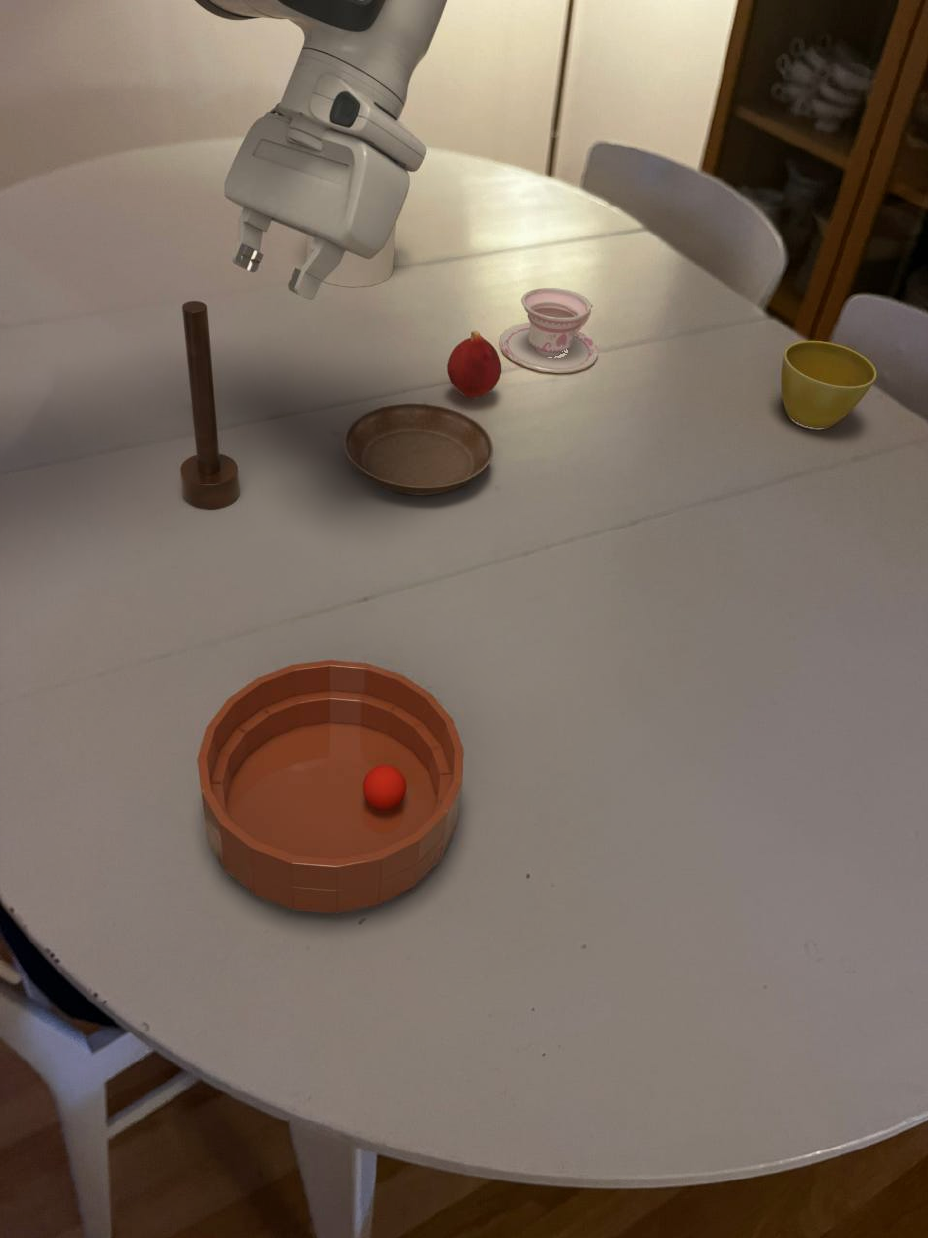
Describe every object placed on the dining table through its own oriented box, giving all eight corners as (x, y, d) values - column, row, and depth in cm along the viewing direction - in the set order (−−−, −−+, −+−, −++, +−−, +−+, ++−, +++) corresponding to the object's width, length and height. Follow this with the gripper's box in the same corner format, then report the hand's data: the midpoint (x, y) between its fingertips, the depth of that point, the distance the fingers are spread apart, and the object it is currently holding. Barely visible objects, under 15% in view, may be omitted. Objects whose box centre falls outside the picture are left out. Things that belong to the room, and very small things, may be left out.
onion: (491, 384, 116) (499, 319, 111) (501, 411, 112) (510, 345, 106) (441, 384, 115) (447, 318, 110) (449, 412, 111) (455, 345, 105)
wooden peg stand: (177, 506, 94) (154, 317, 82) (190, 474, 98) (170, 288, 85) (233, 511, 94) (219, 324, 82) (244, 479, 98) (232, 295, 86)
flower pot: (857, 450, 113) (881, 393, 108) (766, 433, 114) (786, 376, 109) (850, 405, 120) (872, 350, 116) (764, 389, 121) (783, 333, 116)
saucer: (349, 510, 96) (350, 487, 94) (339, 425, 107) (339, 402, 105) (502, 507, 99) (505, 484, 97) (477, 424, 110) (479, 402, 108)
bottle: (309, 287, 129) (307, 72, 112) (300, 248, 138) (297, 42, 121) (401, 287, 132) (413, 77, 115) (387, 248, 140) (396, 47, 123)
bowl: (179, 907, 65) (169, 853, 60) (233, 706, 77) (228, 650, 73) (449, 929, 65) (457, 877, 61) (459, 726, 78) (467, 672, 74)
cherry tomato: (359, 816, 70) (360, 789, 68) (364, 781, 72) (365, 754, 70) (403, 819, 70) (405, 793, 68) (406, 785, 72) (409, 758, 70)
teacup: (526, 381, 117) (533, 331, 113) (482, 332, 125) (488, 284, 121) (615, 367, 122) (625, 319, 117) (568, 321, 129) (576, 274, 125)
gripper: (243, 80, 85) (182, 238, 88) (380, 112, 72) (303, 296, 75) (302, 118, 90) (242, 267, 93) (441, 155, 77) (366, 327, 80)
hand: (270, 281), depth 84 cm, fingers open, 8 cm apart
